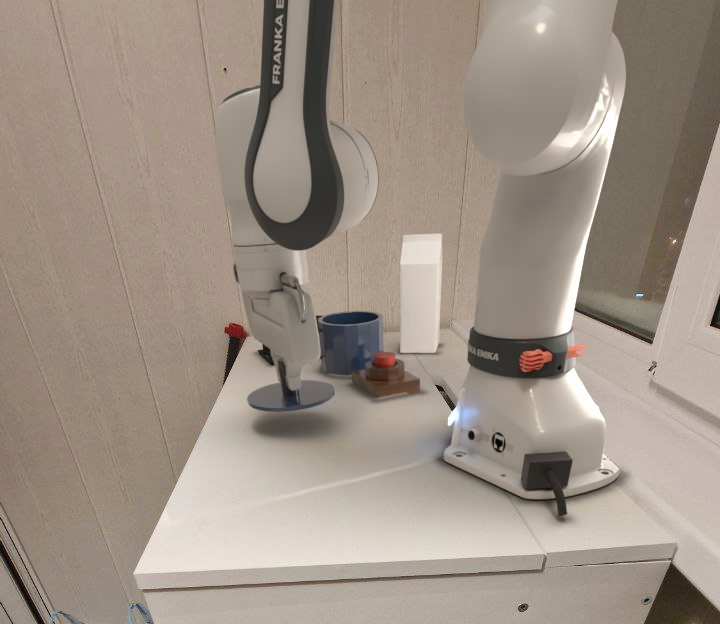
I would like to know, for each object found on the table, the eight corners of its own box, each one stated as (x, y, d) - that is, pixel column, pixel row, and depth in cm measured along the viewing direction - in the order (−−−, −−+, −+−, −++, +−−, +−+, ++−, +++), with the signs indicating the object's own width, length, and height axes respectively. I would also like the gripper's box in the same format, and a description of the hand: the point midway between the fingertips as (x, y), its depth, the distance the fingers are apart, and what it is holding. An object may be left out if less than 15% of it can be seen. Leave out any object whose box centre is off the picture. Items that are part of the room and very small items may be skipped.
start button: (399, 366, 92) (399, 355, 90) (379, 370, 91) (379, 358, 90) (389, 361, 94) (389, 350, 93) (370, 365, 93) (370, 353, 92)
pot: (394, 371, 102) (393, 319, 97) (336, 382, 99) (332, 328, 93) (368, 356, 110) (366, 308, 105) (313, 366, 107) (309, 316, 101)
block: (419, 392, 92) (420, 366, 90) (376, 401, 90) (375, 375, 88) (393, 377, 99) (392, 353, 97) (352, 385, 97) (351, 360, 95)
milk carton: (435, 353, 110) (440, 235, 97) (399, 353, 111) (399, 237, 98) (438, 344, 115) (443, 231, 102) (404, 344, 116) (405, 232, 104)
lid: (348, 403, 77) (345, 360, 74) (262, 423, 74) (254, 378, 70) (317, 382, 86) (312, 342, 83) (238, 398, 83) (230, 358, 79)
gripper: (326, 274, 63) (338, 400, 72) (273, 260, 78) (288, 366, 87) (273, 282, 61) (292, 410, 70) (229, 266, 76) (249, 373, 85)
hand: (289, 385), depth 79 cm, fingers closed on lid, 2 cm apart
